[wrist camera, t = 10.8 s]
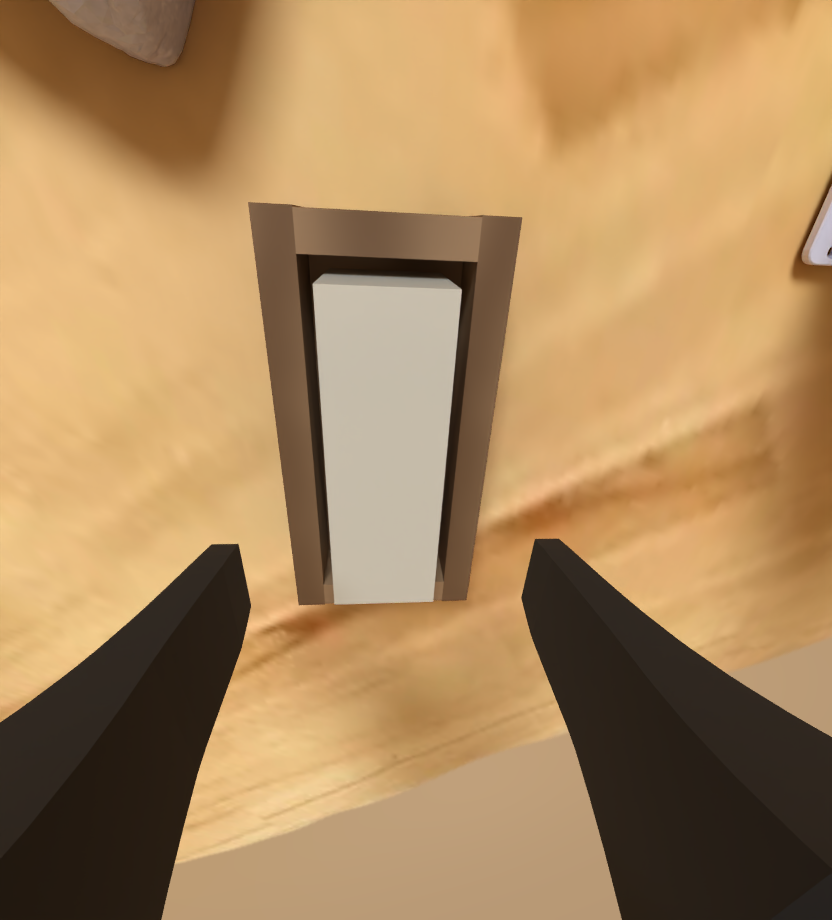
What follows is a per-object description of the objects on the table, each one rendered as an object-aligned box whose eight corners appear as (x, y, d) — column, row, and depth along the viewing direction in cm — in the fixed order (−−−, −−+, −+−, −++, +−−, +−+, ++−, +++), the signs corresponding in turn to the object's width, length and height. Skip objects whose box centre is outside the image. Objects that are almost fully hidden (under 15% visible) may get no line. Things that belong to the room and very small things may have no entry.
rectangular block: (440, 272, 15) (461, 289, 12) (422, 531, 21) (433, 601, 17) (329, 268, 15) (312, 283, 11) (342, 533, 21) (334, 604, 17)
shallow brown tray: (495, 218, 16) (524, 217, 13) (455, 551, 23) (467, 600, 20) (273, 206, 15) (246, 202, 12) (308, 553, 23) (297, 605, 20)
